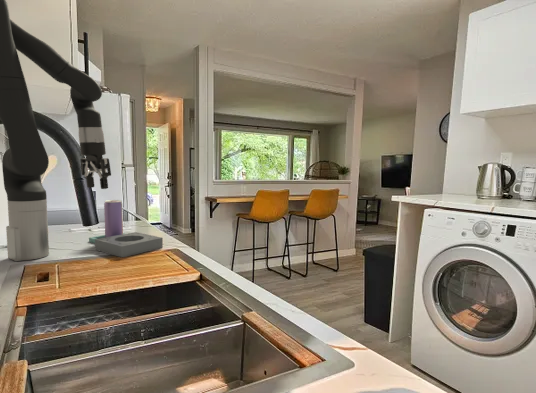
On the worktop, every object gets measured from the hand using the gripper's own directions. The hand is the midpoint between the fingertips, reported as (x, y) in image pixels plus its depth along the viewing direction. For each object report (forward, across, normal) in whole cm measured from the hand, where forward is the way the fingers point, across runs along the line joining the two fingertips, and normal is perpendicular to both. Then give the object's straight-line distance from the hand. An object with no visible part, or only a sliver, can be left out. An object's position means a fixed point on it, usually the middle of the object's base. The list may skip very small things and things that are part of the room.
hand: (97, 188), depth 110 cm
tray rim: (+20, +1, +3) cm, 20 cm away
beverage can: (+20, +1, +3) cm, 21 cm away
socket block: (+20, +15, 0) cm, 25 cm away
